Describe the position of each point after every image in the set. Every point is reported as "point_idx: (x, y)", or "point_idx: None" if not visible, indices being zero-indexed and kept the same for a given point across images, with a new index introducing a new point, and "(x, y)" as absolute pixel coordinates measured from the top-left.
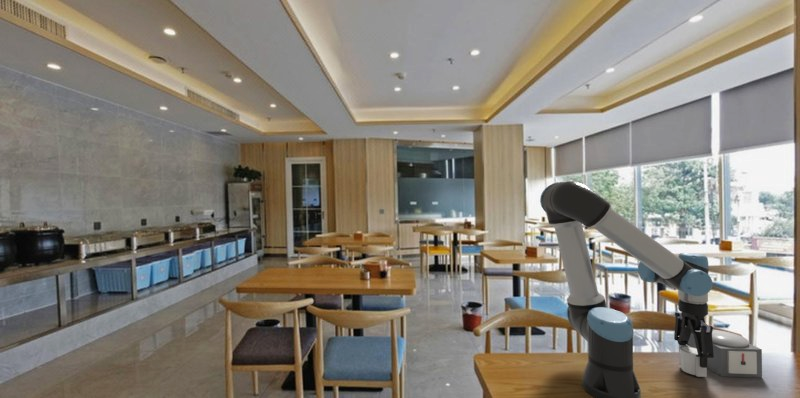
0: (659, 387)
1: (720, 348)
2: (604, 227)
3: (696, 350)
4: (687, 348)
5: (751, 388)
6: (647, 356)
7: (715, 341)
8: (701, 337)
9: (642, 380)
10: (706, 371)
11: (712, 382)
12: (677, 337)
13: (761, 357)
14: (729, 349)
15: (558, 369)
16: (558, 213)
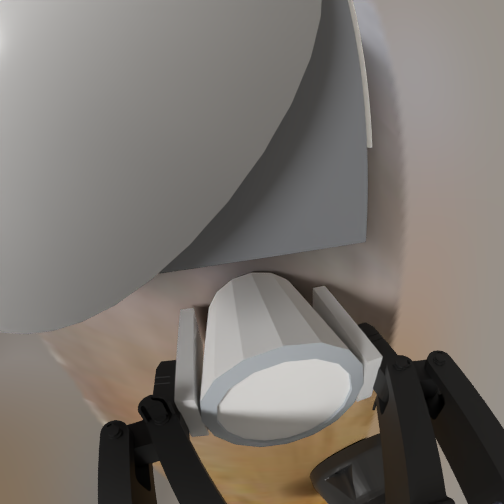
0: (359, 411)
1: (361, 239)
2: None
3: (283, 388)
4: (250, 420)
5: (380, 120)
6: (123, 402)
7: (198, 230)
8: (463, 481)
9: (323, 434)
10: (337, 302)
11: (342, 266)
12: (151, 470)
13: None
14: (360, 121)
15: (279, 498)
16: None
